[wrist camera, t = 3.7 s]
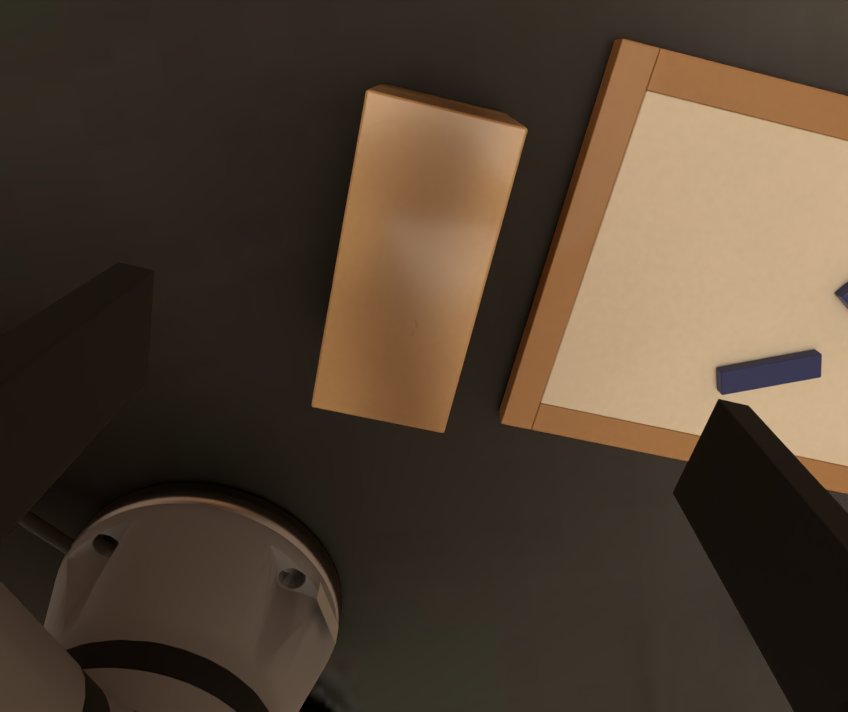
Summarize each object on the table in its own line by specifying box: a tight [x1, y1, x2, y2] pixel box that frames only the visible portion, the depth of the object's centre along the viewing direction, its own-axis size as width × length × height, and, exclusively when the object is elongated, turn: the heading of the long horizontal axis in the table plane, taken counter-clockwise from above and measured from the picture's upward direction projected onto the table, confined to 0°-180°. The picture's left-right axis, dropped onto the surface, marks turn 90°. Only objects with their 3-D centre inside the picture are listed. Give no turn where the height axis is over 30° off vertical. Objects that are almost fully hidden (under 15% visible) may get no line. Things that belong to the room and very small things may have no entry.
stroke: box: [716, 349, 822, 395], centre depth 29 cm, size 4×1×1 cm, turn 102°
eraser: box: [311, 83, 527, 433], centre depth 25 cm, size 5×11×8 cm, turn 167°
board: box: [499, 39, 848, 494], centre depth 29 cm, size 20×17×1 cm
